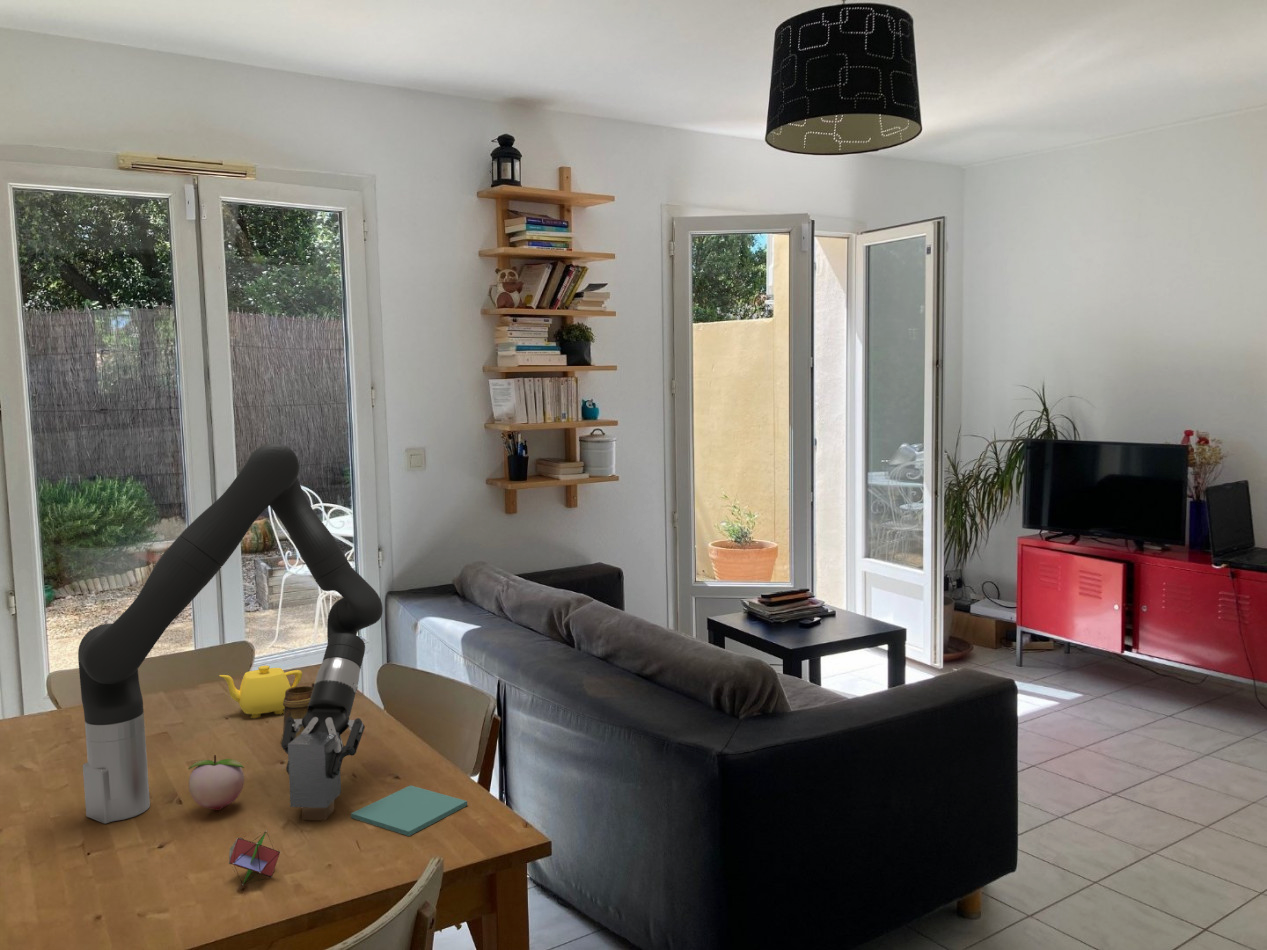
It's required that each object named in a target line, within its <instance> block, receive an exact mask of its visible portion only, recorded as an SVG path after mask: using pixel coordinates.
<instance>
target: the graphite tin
mask: <svg viewBox="0 0 1267 950" xmlns="http://www.w3.org/2000/svg"><path fill="white" fill-rule="evenodd" d="M337 735H338V737H339V732H337ZM335 737H336V734H329V732H311V733H309V734H305V733H304V734H300V735H299V736H297V737H296V738H295V739H294V740H292V741H291V742H290V743H289V744H288V754H287V755H288V757H287V759H288V761H289V774H288V782H289V801H290V802H289V803H290V808H302V807H311V808H327V807H328V806H329V805H330V804H331V803H332V802H333V801H334V802H335V800H336V799H337V798H338V797H339V796H340V794H342V786H341V785H342V783H341V779H342V778H341V771H340V772H339V774H338V775H336V776H335V778H334V779H330V777H329V776H328V769H329V765H330V762H331V758H332V754H334V753H335V751H334V745H335ZM288 761H287V762H288Z"/></svg>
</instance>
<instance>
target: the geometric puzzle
mask: <svg viewBox="0 0 1267 950" xmlns="http://www.w3.org/2000/svg"><path fill="white" fill-rule="evenodd" d="M260 833H261V835H259V836H257V837H255V838H254V840H252V841H250V840H246V839H244V838H245V837H246V835H245V836H243V837H244V838H243V837H242V836H241V837H237V838H236V840H235V841H234V842H233V844H232V845H231V847H230V848H229V852H228V853H229V854H228V855H229V856H228V857H229V858H228V864H229V865H233V866H234V868H235V869H234V870H233V872H234V873H235V875H237V877H238V879H239V881H240V883H241V884H242V886H244V885H245V884H247V882H249V881H251V880H252V879H254V878H255V877H256V876H258V875H259V874H260V875H262V876H266V877H265V878H264V879H265V880H267V877H268V879H270V878H273V874H274V871H275V868H276V866H277V863H278V860H279V857H280V853H282V852H281V851H280V850H277V849H275V848H274V847H272V848H271V847H268V846H264V844H263V842H264V839H265V835H267V836H268V838H271V837H270V835H269V834H268V832H267V830H265V831H263V832H260ZM258 834H259V832H257V833H256V835H258ZM259 837H260V839H259V840H258V841H257V842H254V841H256V839H258V838H259ZM269 842H270V844H271V845H273V842H272V840H269ZM262 844H263V845H262ZM236 867H238V868H241V869H244V870H247V871H246V874H245V877H244V880H243V881H242V880H241V877H240V874H239V872H238V870H237V868H236ZM235 871H236V872H235ZM252 873H255V875H254V876H252V877H251V878H249V877H250V876H251V874H252ZM261 880H263V879H262V878H261V879H260V881H261ZM256 881H259V879H257V880H256ZM253 882H254V881H252V883H253Z"/></svg>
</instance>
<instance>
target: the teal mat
mask: <svg viewBox="0 0 1267 950" xmlns="http://www.w3.org/2000/svg"><path fill="white" fill-rule="evenodd" d="M467 806H468V801H467V800H465V799H462V798H457V797H454V796H450V795H447V794H443V793H439V792H436V791H433V790H429V789H424V788H422V787H418V786H415V785H408V786H406V787H403V788H402V789H399V790H398V791H395V792H393V793H392V794H389V795H387V796H385V797H383V798H381V799H379V800H376V801H374V802H372V803H370V804H368V805H365V806H363V807H361V808H359V809H357V810H355V811H352V812H351V813H350V817H351V818H350V819H354V820H357V821H361V822H363V823H366V824H369V825H372V826H376V827H379V828H382V829H385V830H388V831H391V832H395V833H398V834H401V835H404V836H407V837H411V836H413V835H414V834H416V833H418V832H420V831H422V830H424V829H425V828H428V827H429V826H431V825H433V824H435V823H437V822H438V821H440V820H442V819H444V818H446V817H448V816H450V815H452V814H454V813H456V812H459V810H462V809H464V808H465V807H467Z"/></svg>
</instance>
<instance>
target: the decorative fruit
mask: <svg viewBox="0 0 1267 950" xmlns="http://www.w3.org/2000/svg"><path fill="white" fill-rule="evenodd" d="M192 768H194V769H193V770H192V772H191V773H190V775H189V778H188V779H189V780H188V790H189V794H190V796H191V798H192V800H193V801H194V802H195V803H196V804H197V805H199V806H200V807H202V808H206V809H211V810H216V811H219V810H222V809H223V808H225V807H227V806H228V805H230V804H232V803H233V802H234V801H235V800H236V799H237V798H238V797H239V795H240V794H241V792H242V790H243V788H244V785H245V775H244V771H243V768H245V767H244V765H243V764H242V762H241V763H240V762H239V761H238V760H235V759H232V758H224V759H220V760H217V755H216V754H214V755H213V760H210V759H203V760H199V761H196V762H195V763H193V764H191V765H189V767H188V769H187V770H190V769H192Z"/></svg>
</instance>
